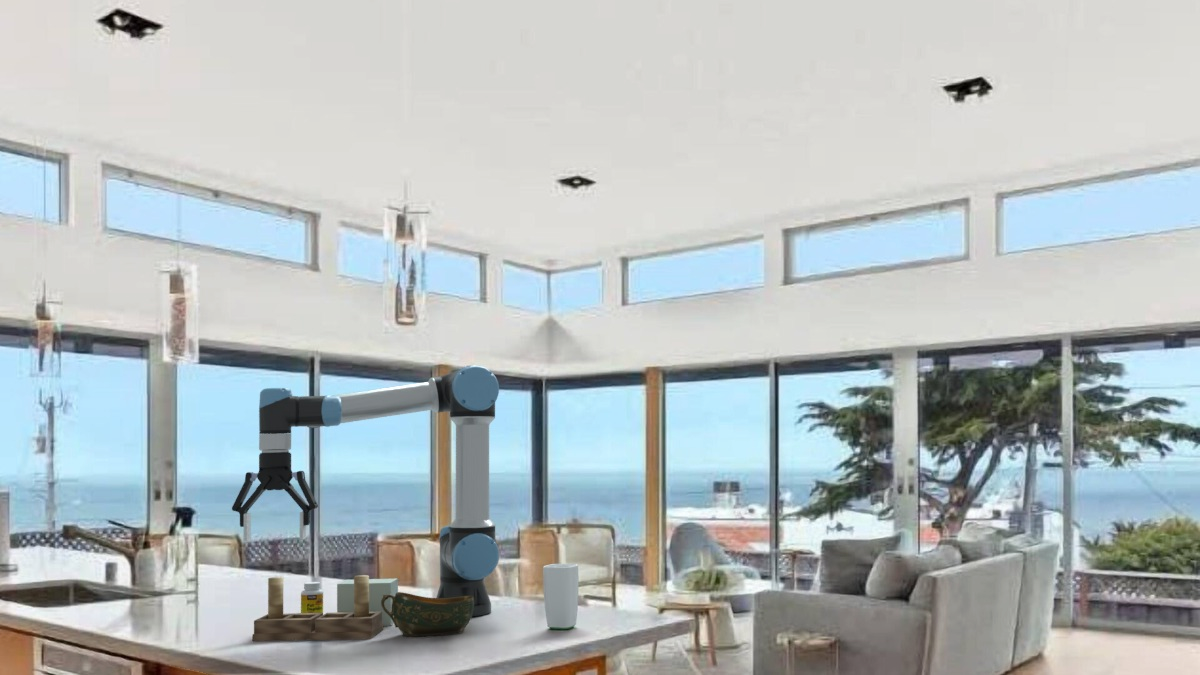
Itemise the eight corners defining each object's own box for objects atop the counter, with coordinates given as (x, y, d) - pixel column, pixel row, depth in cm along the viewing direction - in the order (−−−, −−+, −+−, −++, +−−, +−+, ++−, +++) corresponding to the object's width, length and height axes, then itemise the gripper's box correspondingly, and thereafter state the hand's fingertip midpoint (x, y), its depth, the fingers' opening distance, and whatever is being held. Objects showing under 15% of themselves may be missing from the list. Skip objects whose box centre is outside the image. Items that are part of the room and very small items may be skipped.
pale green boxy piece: (398, 619, 278) (397, 578, 279) (390, 625, 270) (390, 582, 271) (346, 621, 279) (346, 579, 280) (337, 626, 270) (337, 584, 271)
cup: (581, 626, 262) (580, 564, 263) (569, 631, 255) (567, 567, 257) (554, 625, 265) (553, 563, 266) (541, 630, 258) (540, 566, 260)
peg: (285, 627, 261) (285, 576, 262) (280, 630, 257) (280, 578, 258) (270, 627, 261) (271, 577, 262) (265, 630, 257) (266, 579, 258)
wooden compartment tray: (382, 629, 264) (382, 572, 266) (371, 638, 252) (371, 578, 254) (269, 632, 265) (269, 575, 266) (252, 641, 253) (252, 581, 254)
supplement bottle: (304, 625, 273) (304, 584, 274) (297, 623, 277) (297, 582, 278) (326, 623, 276) (326, 582, 277) (319, 620, 280) (319, 580, 281)
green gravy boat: (399, 628, 265) (399, 586, 266) (477, 630, 261) (477, 587, 262) (378, 638, 253) (378, 594, 254) (460, 640, 249) (459, 595, 250)
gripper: (330, 450, 266) (330, 537, 264) (230, 452, 267) (229, 539, 265) (321, 450, 259) (321, 540, 257) (218, 453, 260) (217, 542, 258)
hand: (274, 540), depth 261 cm, fingers open, 13 cm apart
